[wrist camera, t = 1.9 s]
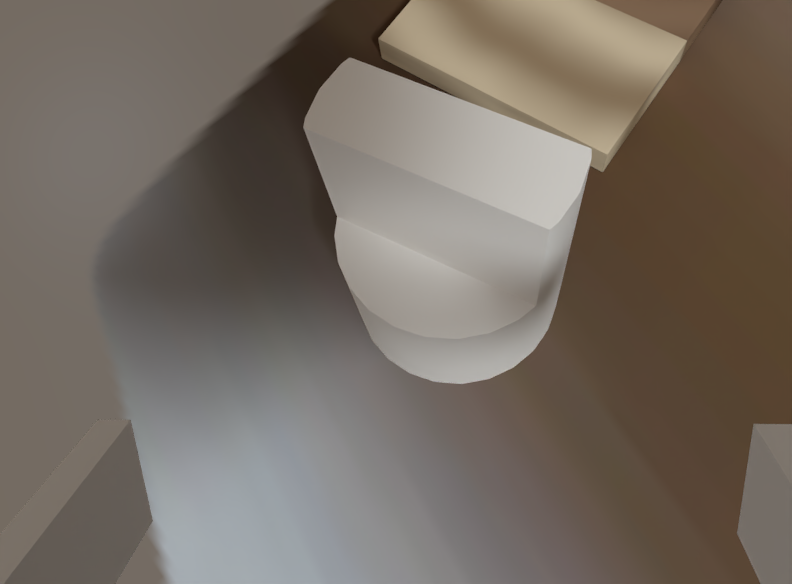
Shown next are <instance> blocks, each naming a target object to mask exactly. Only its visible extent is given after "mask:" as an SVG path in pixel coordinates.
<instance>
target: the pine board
mask: <svg viewBox="0 0 792 584" xmlns="http://www.w3.org/2000/svg"><path fill="white" fill-rule="evenodd" d="M721 1H722V0H411V1H410V2H409V3H408V4H407V5H406V7H405V8H404V9H403V10H402V11H401V13H400V14H399V15H398V16H397V17H396V18H395V20H394V21H393V22H392V23H391V24H390V25H389V27H388V28H387V29H386V30H385V31H384V33H383V34H382V35H381V36H380V37H379V38H378V40H379V46H380V51H381V56H382V59H384V60H386V61H388V62H390V63H392V64H394V65H396V66H398V67H400V68H401V69H403V70H405V71H407V72H409V73H411V74H413V75H415V76H417V77H419V78H421V79H423V80H425V81H427V82H429V83H431V84H433V85H434V86H436V87H438V88H440V89H442V90H444V91H446V92H448V93H450V94H452V95H454V96H456V97H458V98H460V99H462V100H464V101H467V102H470V103H472V104H475V105H478V106H480V107H483V108H486V109H488V110H491V111H493V112H496V113H499V114H501V115H504V116H507V117H509V118H512V119H515V120H517V121H520V122H523V123H525V124H528V125H531V126H533V127H536V128H538V129H541V130H544V131H546V132H549V133H552V134H554V135H557V136H560V137H562V138H565V139H568V140H570V141H573V142H576V143H578V144H581V145H584V146H586V147H589V148H591V149H592V158H591V163H590V166H592V167H594V168H595V169H597V170H599V171H601V172H603V171H604V169H605V168H606V166H607V165H608V164H609V162H610V161H611V159H612V158H613V156H614V155H615V154H616V152H617V151H618V149H619V148H620V146H621V145H622V143H623V142H624V141H625V139H626V138H627V136H628V135H629V133H630V132H631V131H632V129H633V128H634V126H635V125H636V123H637V122H638V121H639V119H640V118H641V116H642V115H643V113H644V112H645V110H646V109H647V108H648V106H649V105H650V103H651V102H652V100H653V99H654V98H655V96H656V95H657V93H658V92H659V90H660V89H661V88H662V86H663V85H664V83H665V82H666V80H667V79H668V77H669V76H670V75H671V73H672V72H673V70H674V69H675V67H676V66H677V65H678V63H679V62H680V60H681V59H682V57H683V56H684V55H685V53H686V52H687V50H688V49H689V47H690V46H691V44H692V43H693V42H694V40H695V39H696V37H697V36H698V34H699V33H700V32H701V30H702V29H703V27H704V26H705V24H706V23H707V22H708V20H709V19H710V17H711V16H712V14H713V13H714V12H715V10H716V9H717V7H718V6H719V4H720V3H721Z"/></svg>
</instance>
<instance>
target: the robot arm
mask: <svg viewBox="0 0 792 584" xmlns="http://www.w3.org/2000/svg"><path fill="white" fill-rule="evenodd" d="M152 521H153V520H152V515H151V511H150V506H149V502H148V497H147V492H146V488H145V483H144V479H143V474H142V470H141V465H140V461H139V456H138V451H137V447H136V442H135V438H134V433H133V429H132V424H131V420H97V421H96V422H95V423H94V424H93V426H92V427H91V428H90V429H89V430H88V432H87V433H86V434H85V435H84V436H83V437H82V439H81V440H80V441H79V442H78V443H77V444H76V446H75V447H74V448H73V449H72V450H71V451H70V453H69V454H68V455H67V456H66V457H65V459H64V460H63V461H62V462H61V463H60V464H59V466H58V467H57V468H56V469H55V470H54V472H53V473H52V474H51V475H50V476H49V477H48V479H47V480H46V481H45V482H44V483H43V484H42V486H41V487H40V488H39V489H38V490H37V492H36V493H35V494H34V495H33V496H32V497H31V499H30V500H29V501H28V502H27V503H26V504H25V506H24V507H23V508H22V509H21V510H20V512H19V513H18V514H17V515H16V517H14V519H13V520H12V521H11V522H10V523H9V525H8V526H7V527H6V528H5V529H4V530H3V532H2V533H1V534H0V584H116V582H117V580H118V579H119V577H120V575H121V574H122V572H123V570H124V569H125V567H126V565H127V563H128V562H129V560H130V558H131V557H132V555H133V553H134V552H135V550H136V548H137V547H138V545H139V543H140V541H141V540H142V538H143V536H144V535H145V533H146V531H147V530H148V528H149V526H150V525H151V523H152ZM737 534H738V536H739V538H740V540H741V543H742V545H743V547H744V549H745V551H746V553H747V555H748V558H749V560H750V562H751V564H752V566H753V568H754V570H755V572H756V575H757V577H758V579H759V581H760V583H761V584H792V424H754V425H753V432H752V439H751V445H750V452H749V459H748V465H747V472H746V479H745V485H744V492H743V499H742V505H741V512H740V519H739V525H738V532H737Z"/></svg>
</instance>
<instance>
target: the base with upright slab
mask: <svg viewBox="0 0 792 584" xmlns="http://www.w3.org/2000/svg"><path fill="white" fill-rule="evenodd" d="M303 128H304V131H305V134H306V136H307V139H308V141H309V144H310V147H311V149H312V152H313V155H314V157H315V160H316V162H317V165H318V168H319V170H320V173H321V176H322V178H323V181H324V184H325V186H326V189H327V191H328V194H329V197H330V199H331V202H332V205H333V207H334V210H335V212H336V215H337V221H336V227H335V234H334V237H335V244H336V251H337V259H338V264H339V266H340V268H341V271H342V273H343V275H344V278H345V280H346V282H347V285H348V287H349V289H350V292H351V294H352V296H353V299H354V301H355V303H356V306H357V308H358V310H359V313H360V315H361V317H362V319H363V322H364V324H365V326H366V328H367V330H368V333H369V335H370V337H371V339H372V340H373V342H374V343H375V344H376V345H377V346H378V348H379V349H380V350H381V351H382V352H383V353H384V355H385V356H386V357H387V358H388V359H389V360H391V361H392V362H394V363H395V364H397V365H398V366H400V367H401V368H403V369H404V370H406V371H407V372H409V373H411V374H414V375H416V376H419V377H422V378H425V379H428V380H431V381H434V382H444V383H458V384H464V383H469V382H475V381H480V380H486V379H490V378H492V377H494V376H496V375H498V374H501V373H503V372H505V371H507V370H509V369H511V368H513V367H515V366H516V365H517V364H518V363H519V362H521V361H522V360H523V359H524V358H525V357H527V356H528V355H529V354H530V353H531V352H532V351H534V349H535V348H536V346H537V345H538V343H539V342H540V341H541V339H542V338H543V336H544V335H545V333H546V332H547V330H548V328H549V325H550V322H551V319H552V316H553V313H554V310H555V307H556V303H557V299H558V295H559V291H560V287H561V283H562V279H563V274H564V270H565V266H566V262H567V258H568V254H569V250H570V246H571V241H572V237H573V233H574V229H575V225H576V221H577V217H578V213H579V208H580V204H581V200H582V196H583V192H584V188H585V184H586V180H587V175H588V171H589V167H590V163H591V158H592V149H591V148H589V147H586V146H584V145H581V144H578V143H576V142H573V141H570V140H568V139H565V138H562V137H560V136H557V135H554V134H552V133H549V132H546V131H544V130H541V129H538V128H536V127H533V126H531V125H528V124H525V123H523V122H520V121H517V120H515V119H512V118H509V117H507V116H504V115H501V114H499V113H496V112H493V111H491V110H488V109H486V108H483V107H480V106H478V105H475V104H472V103H470V102H467V101H464V100H462V99H459V98H456V97H454V96H451V95H448V94H446V93H443V92H440V91H438V90H435V89H433V88H430V87H427V86H425V85H422V84H419V83H417V82H414V81H411V80H409V79H406V78H403V77H401V76H398V75H395V74H393V73H390V72H387V71H385V70H382V69H380V68H377V67H374V66H372V65H369V64H366V63H364V62H361V61H358V60H356V59H353V58H348V59H347V60H346V61H344V62H343V63H341V64H340V66H339V67H338V68H337V69H336V70H335V71H334V73H333V74H332V75H331V76H330V77H329V78H328V79H327V81H326V82H325V83H324V84H323V85H322V86H321V87H320V89H319V91H318V93H317V95H316V97H315V99H314V101H313V103H312V105H311V107H310V109H309V111H308V113H307V115H306V117H305V120H304V126H303Z"/></svg>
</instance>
